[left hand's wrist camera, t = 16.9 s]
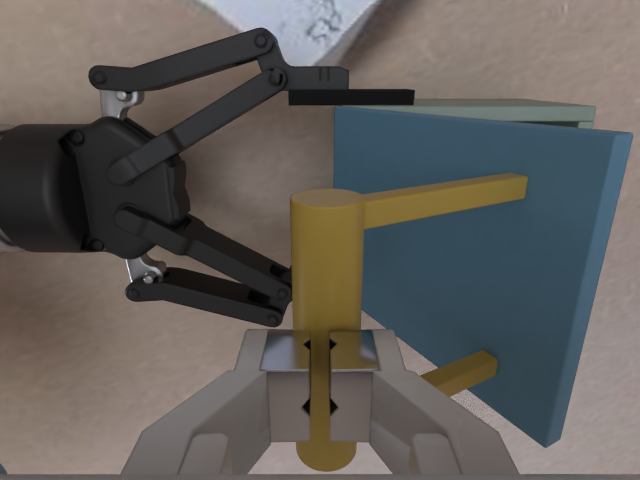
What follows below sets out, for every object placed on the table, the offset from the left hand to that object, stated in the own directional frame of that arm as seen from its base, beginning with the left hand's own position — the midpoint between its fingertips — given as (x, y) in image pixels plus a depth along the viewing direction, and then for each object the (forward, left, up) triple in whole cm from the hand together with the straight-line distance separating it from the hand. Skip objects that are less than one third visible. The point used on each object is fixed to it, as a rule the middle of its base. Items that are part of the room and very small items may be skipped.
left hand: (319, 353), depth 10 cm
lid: (-4, +2, -8) cm, 9 cm away
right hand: (-4, +2, -16) cm, 17 cm away
